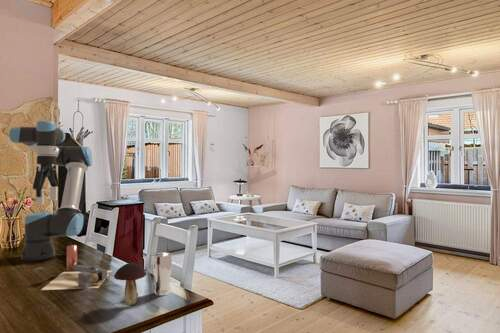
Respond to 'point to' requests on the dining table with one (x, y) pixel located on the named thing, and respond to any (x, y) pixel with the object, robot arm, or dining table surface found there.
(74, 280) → the tapered cream board
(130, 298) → the decorative mushroom
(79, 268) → the lever
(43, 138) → the robot arm
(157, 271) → the beer glass
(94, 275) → the walnut
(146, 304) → the dining table surface
